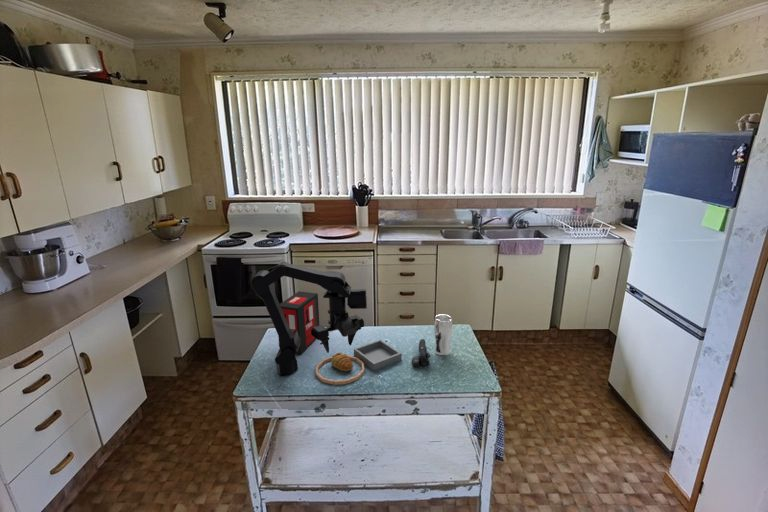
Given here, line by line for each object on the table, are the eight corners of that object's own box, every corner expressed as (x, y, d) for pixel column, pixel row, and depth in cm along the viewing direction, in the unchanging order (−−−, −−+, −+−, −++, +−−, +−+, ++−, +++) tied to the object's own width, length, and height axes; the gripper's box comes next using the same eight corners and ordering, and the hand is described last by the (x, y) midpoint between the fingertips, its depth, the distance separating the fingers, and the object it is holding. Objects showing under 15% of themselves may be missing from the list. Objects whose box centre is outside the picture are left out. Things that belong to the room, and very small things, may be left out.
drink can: (454, 355, 153) (456, 319, 149) (438, 358, 150) (440, 322, 146) (445, 347, 159) (446, 313, 155) (430, 350, 157) (431, 315, 153)
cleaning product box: (301, 334, 171) (298, 291, 166) (320, 336, 168) (317, 293, 163) (281, 352, 156) (277, 305, 150) (300, 355, 153) (297, 308, 148)
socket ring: (330, 390, 131) (330, 387, 131) (308, 367, 145) (307, 364, 144) (373, 373, 141) (373, 370, 141) (348, 353, 154) (348, 350, 154)
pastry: (357, 368, 143) (358, 359, 142) (342, 374, 139) (342, 365, 138) (343, 358, 150) (343, 349, 149) (328, 364, 146) (328, 355, 145)
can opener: (430, 370, 143) (430, 356, 141) (411, 369, 144) (411, 355, 142) (431, 347, 160) (432, 334, 158) (414, 345, 161) (415, 333, 159)
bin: (374, 371, 142) (374, 364, 141) (354, 355, 153) (353, 348, 152) (401, 360, 149) (401, 353, 148) (380, 346, 160) (380, 339, 159)
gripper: (324, 323, 125) (326, 366, 129) (372, 309, 135) (373, 350, 139) (309, 312, 133) (311, 353, 137) (355, 299, 144) (356, 338, 148)
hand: (339, 348), depth 140 cm, fingers open, 9 cm apart
